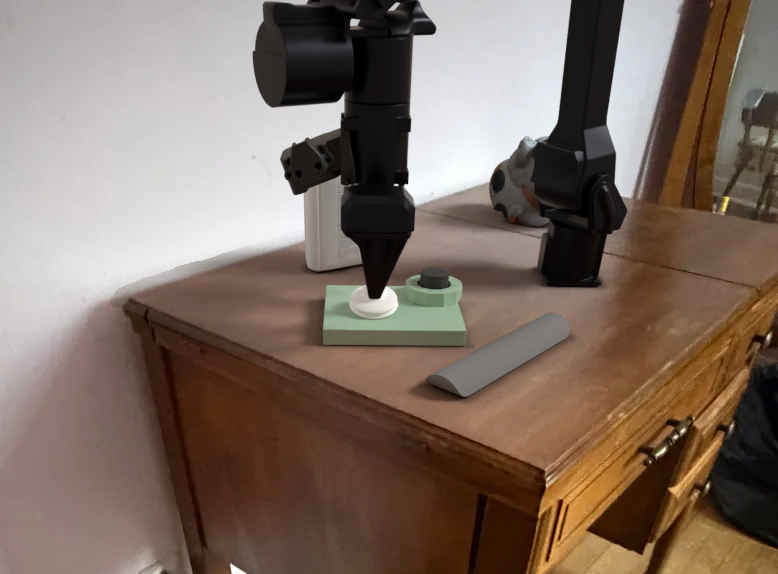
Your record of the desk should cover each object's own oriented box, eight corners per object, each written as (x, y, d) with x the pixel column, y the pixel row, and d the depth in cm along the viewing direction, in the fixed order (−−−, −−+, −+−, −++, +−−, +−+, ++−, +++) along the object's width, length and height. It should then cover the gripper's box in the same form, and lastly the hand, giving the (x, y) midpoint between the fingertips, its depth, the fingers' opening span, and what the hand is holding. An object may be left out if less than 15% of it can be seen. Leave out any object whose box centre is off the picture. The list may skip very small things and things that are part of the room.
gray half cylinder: (572, 335, 73) (575, 318, 72) (459, 402, 62) (461, 383, 61) (536, 324, 76) (539, 307, 74) (420, 386, 64) (422, 368, 63)
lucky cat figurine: (578, 205, 111) (628, 124, 99) (571, 259, 106) (622, 180, 94) (488, 171, 110) (528, 83, 97) (476, 224, 104) (516, 138, 92)
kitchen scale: (455, 300, 80) (458, 273, 78) (469, 346, 71) (472, 316, 69) (326, 299, 80) (326, 272, 78) (323, 345, 70) (322, 315, 69)
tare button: (446, 281, 77) (447, 267, 76) (449, 291, 75) (450, 276, 74) (418, 281, 77) (419, 266, 76) (420, 291, 75) (421, 276, 74)
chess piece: (404, 295, 74) (408, 201, 66) (389, 323, 71) (392, 229, 63) (359, 285, 75) (358, 191, 67) (342, 313, 72) (339, 219, 64)
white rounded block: (370, 252, 93) (372, 144, 85) (389, 261, 90) (392, 151, 82) (300, 265, 88) (295, 153, 80) (318, 275, 85) (314, 160, 78)
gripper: (290, 82, 69) (297, 250, 79) (274, 116, 54) (285, 317, 64) (406, 85, 69) (399, 252, 79) (421, 119, 55) (409, 318, 64)
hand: (373, 281), depth 72 cm, fingers open, 9 cm apart
